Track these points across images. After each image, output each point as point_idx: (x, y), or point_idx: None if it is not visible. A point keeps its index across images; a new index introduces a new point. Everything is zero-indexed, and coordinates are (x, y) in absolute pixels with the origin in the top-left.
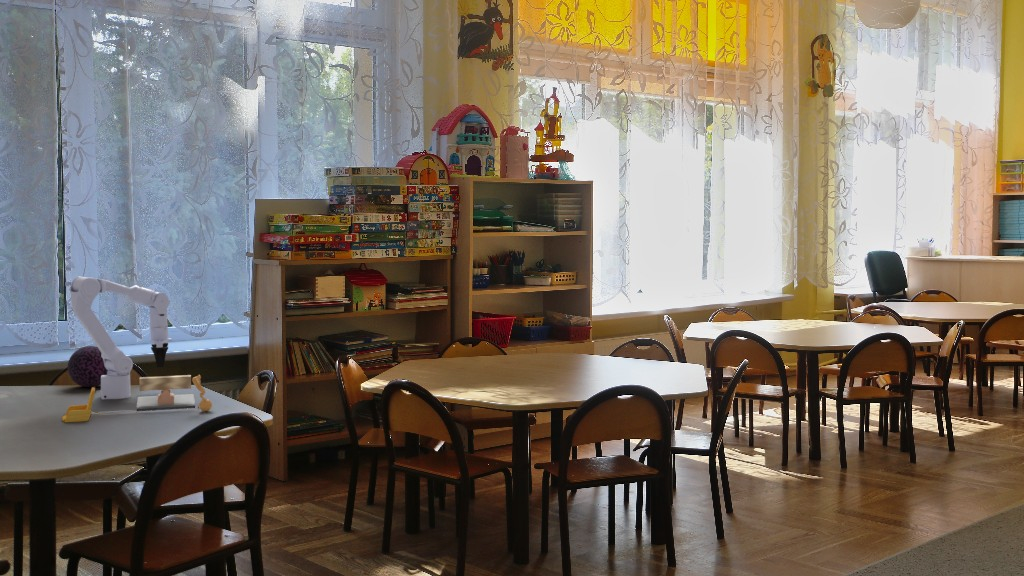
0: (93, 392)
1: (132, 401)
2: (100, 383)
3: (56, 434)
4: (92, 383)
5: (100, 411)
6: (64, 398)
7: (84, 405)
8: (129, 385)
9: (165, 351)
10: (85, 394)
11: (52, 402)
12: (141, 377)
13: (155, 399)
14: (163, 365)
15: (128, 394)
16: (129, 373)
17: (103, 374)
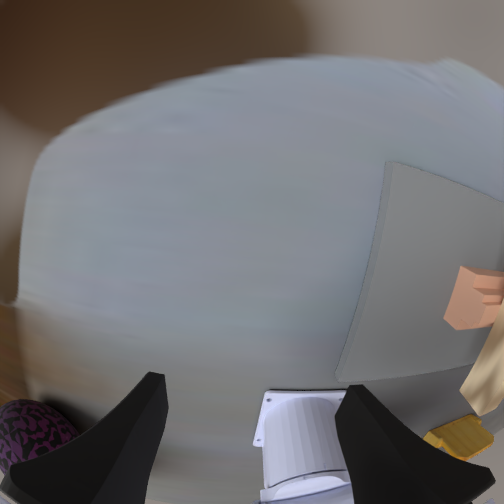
0: (492, 440)
1: (342, 386)
2: (62, 416)
3: (496, 417)
4: (79, 435)
5: (418, 422)
6: (204, 478)
7: (437, 446)
8: (330, 434)
9: (463, 469)
10: (157, 452)
11: (248, 488)
12: (484, 411)
13: (424, 327)
14: (370, 393)
15: (329, 411)
16: (338, 472)
17: (62, 436)
